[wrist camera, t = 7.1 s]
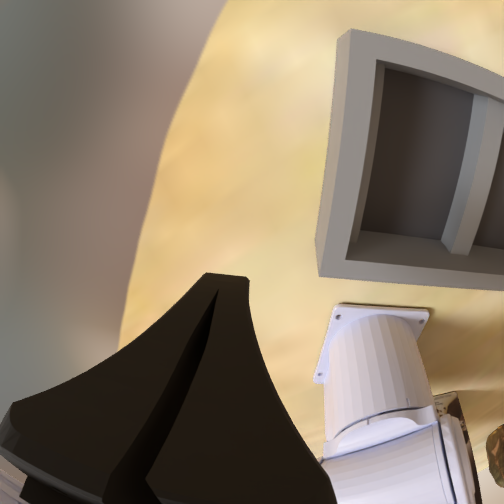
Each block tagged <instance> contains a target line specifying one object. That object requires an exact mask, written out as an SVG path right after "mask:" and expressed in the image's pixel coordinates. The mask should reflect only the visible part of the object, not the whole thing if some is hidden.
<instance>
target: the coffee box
mask: <svg viewBox="0 0 504 504" xmlns="http://www.w3.org/2000/svg"><path fill="white" fill-rule="evenodd" d="M433 399H434V403H435V406H436V410H437V413H438V415H439V417H441V416H443V415H446V414H450V415H451V417H452V416H453V417H456V418H458V419H459V422H460V425H461V429H462V432H463V436H464V440H465V444H466V448H467V452H468V456H469V460H470V465H471V470H472V475H473V480H474V486H475V493H474V496H475V503H476V504H482V499H481V492H480V487H479V481H478V475H477V470H476V465H475V460H474V456H473V451H472V447H471V443H470V439H469V435H468V431H467V427H466V423H465V420H464V417H463V413H462V410H461V406H460V403H459V399H458V396H457V393H456V392H451V393H447V394H442V395H438V396H433Z"/></svg>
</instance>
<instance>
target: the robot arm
mask: <svg viewBox="0 0 504 504" xmlns="http://www.w3.org/2000/svg"><path fill="white" fill-rule="evenodd" d="M249 282H250V280H249V279H248V278H247V277H243V276H234V275H224V274H215V273H205V274H204V275H203V276H202V277H201V278H200V279H199V280H198V281H197V282H196V283H195V284H194V285H193V286H192V287H191V288H190V289H189V290H188V291H187V292H186V294H185V295H184V296H183V297H182V298H181V299H180V300H179V301H178V302H177V303H175V304H174V305H173V306H172V307H171V308H170V309H169V310H168V311H167V312H166V313H165V314H164V315H163V316H162V317H161V318H160V319H158V320H157V321H156V322H155V323H154V324H153V325H151V326H150V327H149V328H148V329H147V330H146V331H145V332H143V333H142V334H141V335H140V336H138V337H137V338H136V339H135V340H133V341H132V342H131V343H129V344H128V345H127V346H125V347H124V348H122V349H121V350H120V351H118V352H117V353H115V354H114V355H112V356H111V357H109V358H107V359H106V360H104V361H103V362H101V363H99V364H98V365H96V366H94V367H93V368H91V369H89V370H88V371H86V372H84V373H82V374H80V375H78V376H76V377H75V378H72V379H71V380H69V381H66V382H65V383H62V384H60V385H58V386H56V387H53V388H51V389H49V390H46V391H44V392H41V393H38V394H36V395H33V396H30V397H27V398H25V399H22V400H19V401H16V402H13V403H12V405H11V406H10V408H9V410H8V411H7V413H6V415H5V417H4V418H3V420H2V422H1V424H0V455H2V456H3V457H4V458H5V459H6V460H8V461H9V462H10V463H11V464H13V465H14V466H15V467H17V468H18V469H19V470H21V471H22V472H23V473H25V474H26V475H27V476H28V477H27V479H26V481H25V483H24V484H23V483H21V482H20V481H18V480H17V479H15V478H14V477H12V476H10V475H9V474H7V473H6V472H4V471H3V470H2V469H0V504H476V503H475V496H474V493H475V486H474V480H473V475H472V470H471V465H470V460H469V456H468V452H467V448H466V444H465V440H464V436H463V432H462V429H461V425H460V422H459V419H458V418H456V417H453V416H452V417H451V415H450V414H446V415H443V416H441V417H439V415H438V413H437V410H436V406H435V403H434V399H433V395H432V392H431V388H430V385H429V381H428V378H427V374H426V371H425V368H424V365H423V361H422V358H421V355H420V352H419V349H418V346H417V343H416V342H417V340H418V338H419V336H420V334H421V332H422V330H423V328H424V326H425V324H426V322H427V320H428V318H429V315H430V314H429V311H428V310H427V309H414V308H395V307H379V306H364V305H350V304H338V305H336V306H334V308H333V311H332V315H331V319H330V322H329V326H328V330H327V333H326V337H325V340H324V343H323V347H322V350H321V354H320V357H319V360H318V363H317V367H316V370H315V373H314V376H313V382H314V383H317V384H324V407H325V435H326V440H327V442H324V443H323V456H322V457H319V458H317V459H316V458H315V456H314V455H313V453H312V452H311V451H310V449H309V448H308V446H307V445H306V443H305V441H304V440H303V438H302V437H301V435H300V433H299V432H298V430H297V429H296V427H295V425H294V424H293V422H292V420H291V418H290V416H289V414H288V412H287V411H286V409H285V407H284V405H283V403H282V401H281V399H280V398H279V395H278V393H277V391H276V389H275V387H274V385H273V382H272V380H271V378H270V375H269V373H268V370H267V368H266V365H265V363H264V360H263V357H262V354H261V351H260V348H259V345H258V342H257V338H256V335H255V331H254V327H253V322H252V318H251V313H250V307H249ZM336 315H340V316H336ZM421 319H422V320H421Z"/></svg>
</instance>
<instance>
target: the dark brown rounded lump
mask: <svg viewBox="0 0 504 504" xmlns="http://www.w3.org/2000/svg"><path fill="white" fill-rule="evenodd" d="M486 451H487V458H488V461H489V470H490V473H491V474H492V476H493V478H494V479H495V482H496V484H497V485H499V486H500V487H503V488H504V424H503V425H501V426H500V427H498V429H496V430H495V431H494V432H493V433H492V434H491V435H489V437H488V439H487V442H486Z"/></svg>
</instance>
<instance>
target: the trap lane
mask: <svg viewBox="0 0 504 504" xmlns="http://www.w3.org/2000/svg"><path fill="white" fill-rule="evenodd" d="M315 247H316V256H317V265H318V274H319V277H328V278H339V279H350V280H362V281H373V282H385V283H398V284H410V285H423V286H436V287H450V288H464V289H479V290H494V291H504V77H502V76H500V75H498V74H496V73H494V72H491V71H489V70H487V69H485V68H482V67H480V66H478V65H475V64H473V63H470V62H468V61H465V60H463V59H460V58H457V57H455V56H452V55H449V54H446V53H443V52H441V51H438V50H435V49H431V48H428V47H425V46H422V45H418V44H415V43H412V42H408V41H404V40H401V39H397V38H393V37H389V36H384V35H380V34H376V33H371V32H366V31H361V30H356V29H350V30H348V31H347V32H346V33H345V34H343V35H342V36H341V37H340V38H338V39H337V52H336V66H335V79H334V90H333V101H332V112H331V121H330V131H329V140H328V148H327V157H326V165H325V173H324V180H323V188H322V195H321V202H320V209H319V216H318V222H317V229H316V235H315Z"/></svg>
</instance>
